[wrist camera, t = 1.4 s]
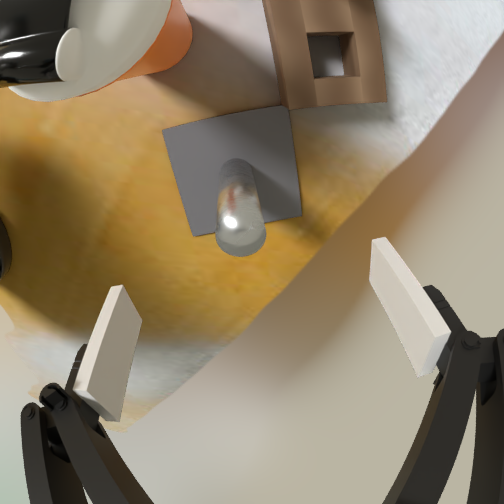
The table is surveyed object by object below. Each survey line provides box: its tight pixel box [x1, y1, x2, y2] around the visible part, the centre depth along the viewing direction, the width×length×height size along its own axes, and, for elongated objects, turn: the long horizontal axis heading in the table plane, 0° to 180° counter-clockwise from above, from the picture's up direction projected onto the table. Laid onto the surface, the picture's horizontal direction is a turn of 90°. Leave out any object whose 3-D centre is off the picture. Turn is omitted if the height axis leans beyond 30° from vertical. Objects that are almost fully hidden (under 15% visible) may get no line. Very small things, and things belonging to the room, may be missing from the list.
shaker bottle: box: [0, 0, 193, 102], centre depth 13 cm, size 9×9×20 cm
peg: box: [216, 158, 266, 257], centre depth 24 cm, size 3×3×12 cm
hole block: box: [262, 0, 387, 110], centre depth 19 cm, size 9×18×4 cm, turn 10°
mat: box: [162, 105, 302, 236], centre depth 29 cm, size 12×12×1 cm
